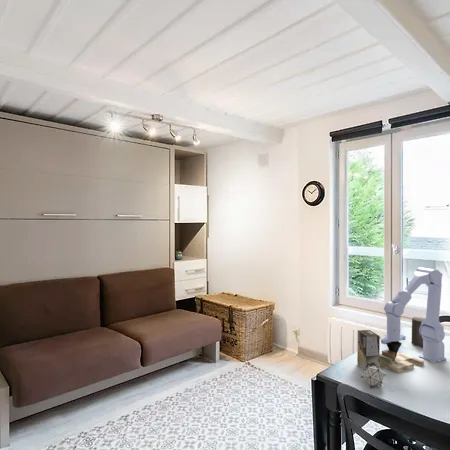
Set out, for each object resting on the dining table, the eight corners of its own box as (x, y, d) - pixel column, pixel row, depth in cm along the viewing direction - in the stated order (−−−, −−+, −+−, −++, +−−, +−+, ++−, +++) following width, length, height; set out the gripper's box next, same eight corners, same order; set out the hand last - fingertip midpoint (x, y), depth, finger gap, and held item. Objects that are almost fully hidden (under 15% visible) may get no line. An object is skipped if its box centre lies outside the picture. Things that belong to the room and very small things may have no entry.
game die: (378, 396, 139) (390, 383, 133) (357, 387, 141) (368, 373, 135) (378, 378, 146) (389, 364, 140) (358, 369, 148) (368, 355, 142)
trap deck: (393, 354, 176) (393, 345, 176) (423, 365, 161) (423, 355, 161) (367, 360, 167) (367, 350, 167) (397, 372, 153) (397, 362, 153)
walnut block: (387, 358, 165) (387, 349, 165) (395, 361, 161) (395, 352, 161) (381, 359, 163) (381, 350, 163) (389, 362, 159) (389, 353, 159)
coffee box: (380, 372, 153) (380, 336, 153) (366, 373, 153) (366, 336, 153) (369, 364, 162) (370, 329, 162) (356, 364, 162) (356, 329, 162)
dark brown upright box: (410, 344, 189) (410, 317, 189) (412, 340, 197) (413, 313, 197) (431, 349, 184) (431, 320, 184) (432, 343, 192) (433, 316, 192)
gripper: (396, 324, 171) (396, 351, 171) (375, 327, 164) (375, 356, 164) (409, 327, 164) (409, 356, 164) (388, 331, 158) (388, 362, 158)
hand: (393, 357), depth 164 cm, fingers closed
